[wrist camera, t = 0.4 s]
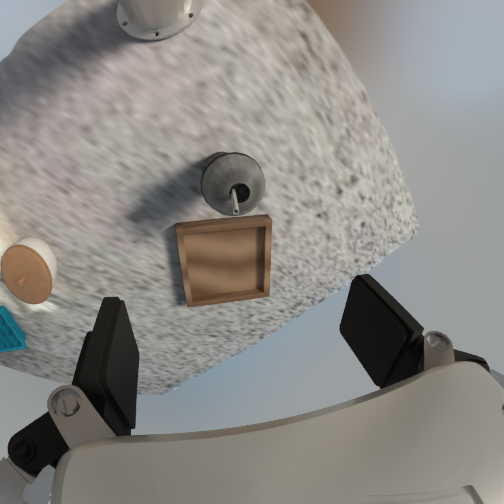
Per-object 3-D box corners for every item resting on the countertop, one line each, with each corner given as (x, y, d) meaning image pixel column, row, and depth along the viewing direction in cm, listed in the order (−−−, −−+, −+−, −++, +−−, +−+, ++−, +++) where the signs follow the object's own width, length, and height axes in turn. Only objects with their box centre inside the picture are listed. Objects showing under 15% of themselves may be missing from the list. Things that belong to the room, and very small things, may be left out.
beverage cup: (248, 182, 43) (295, 234, 25) (203, 194, 42) (218, 256, 25) (238, 137, 39) (284, 157, 22) (191, 149, 38) (196, 178, 21)
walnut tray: (176, 223, 43) (175, 229, 41) (267, 214, 46) (272, 219, 44) (186, 298, 50) (187, 307, 48) (265, 288, 53) (269, 296, 51)
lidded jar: (71, 243, 40) (52, 272, 32) (58, 288, 42) (42, 320, 34) (25, 217, 35) (-2, 240, 27) (15, 264, 38) (-6, 292, 30)
